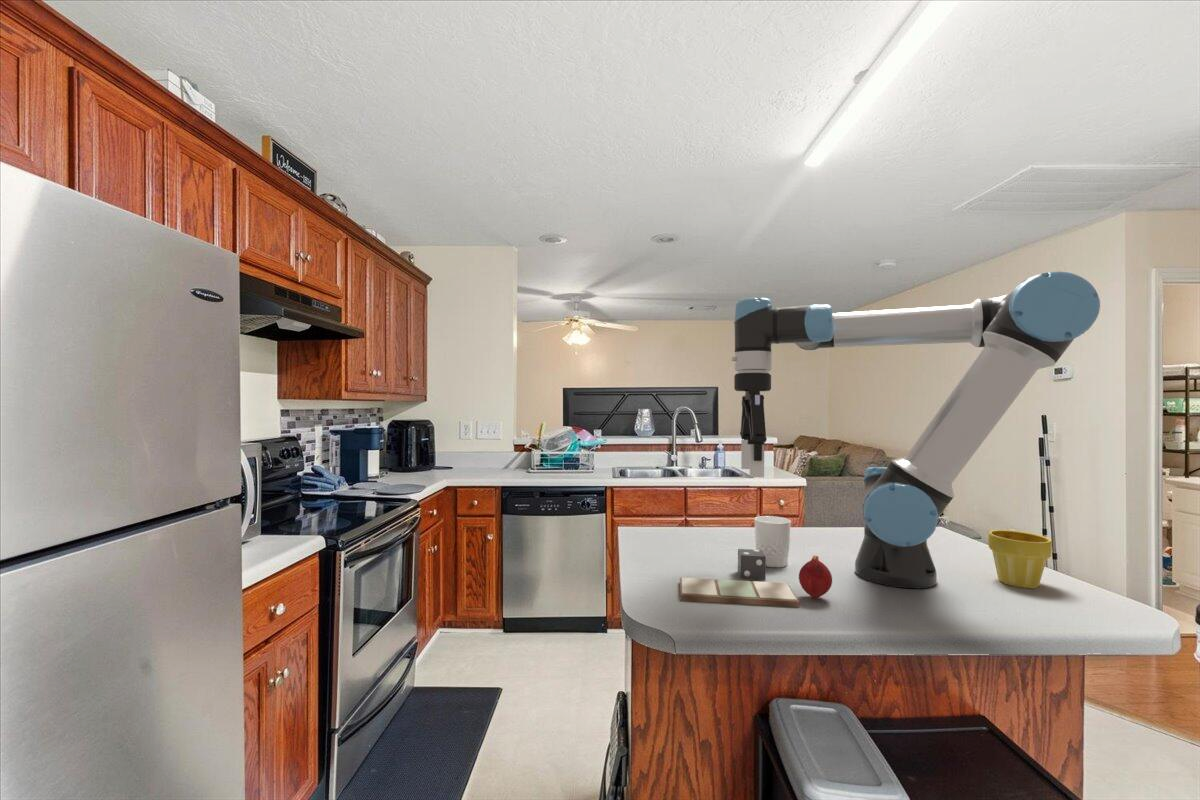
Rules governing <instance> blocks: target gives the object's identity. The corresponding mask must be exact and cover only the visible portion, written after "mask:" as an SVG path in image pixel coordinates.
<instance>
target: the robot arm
mask: <svg viewBox="0 0 1200 800" xmlns="http://www.w3.org/2000/svg"><path fill="white" fill-rule="evenodd" d="M772 304H773V303H772V300H771V299H769V298H766V297H749V298H743V299H740V300H739V301H737V303H736V304H735V314H734V321H733V325H734V356H732V357H731V361H732V362H735V363H734V371H735V372H737V373H735V374H734V376H733V377H734V379H733V381H734V388H733V389H734V391H736V392H745V394H744V395H742V397H741V407H742V408H741V419H740V420H741V421H740V432H739V435H740V438H741V445H740V447H741V448H740V449H741V450H740V452H741V458H740V459H741V463H740V464H741V468H740V469H741V470H749V477H750V478H765V443H766V442H767V433H766V431H767V430H766V421H765V420H766V419H765V418H766V417H765V406H764V405H765V402H764V401H765V400H764V399H765V396H764V394H761V392H769V391H771V390H772V375H771V374H770V373H769V372H770V371H772V345H773V344H795V345H796V346H798V347H799V349H801V350H805V351H815V350H817V349H830V348H849V347H850V348H851V347H855V348H856V347H879V346H883V347H885V346H907V345H908V346H909V345H911V346H912V345H933V344H934V345H936V344H940V345H941V344H960V343H963V344H965V343H968V344H971V345H972V346H973V347H975V348H982V350H981V352H979V354H978V355H977V357H976V359H975V360H974V361H973V363H972V364H971V365H970V367H969V368H968V369H967V371H966V372H965V374H964V375H963V376H962V378H961V379H960V380H959V382H958V383H957V385H956V386H955V387H954V389H953V390H952V392H951V393H950V394H949V396H947V397H948V398H946V400H945V401H944V403H943V404H942V406H940V408H939V410H938V411H937V413H936V414H935V415H934V417H933V418H932V420H931V421H930V422H929V424H928V425H927V426H926V427H925V429H924V430H923V432H922V433H921V434H920V436H919V437H918V438H917V440H916V442H915V443H914V444H913V445H912V447H911V449H910V450H909V451H908V453H907V454H906V456H905V455H904V457H899V458H895V459H894V458H893V459H891V461H890V463H888V465H887V467H886V466H870V467H867V468H866V469H865V471H864V477H863V483H864V496H863V497H864V500H863V504H862V516H863V519H864V520H863V521H864V523H863V526H864V533H863V540H862V541H861V545H860V547H859V551H858V553H857V555H856V558H855V560H854V561H855V563H854V572H855V574H856V575H857V576H859V577H860V578H862V579H864V580H868V581H870V582H873V583H877V584H880V585H884V586H890V587H897V588H905V589H925V588H931V587H934V586H936V585H937V581H938V579H937V578H938V577H937V570H936V567H935V564H934V561H933V557H932V555H931V553H930V550H929V547H928V539H930V538H931V536H932V535H933V534H934V533H935V531H936V528H937V526H938V524H939V523H938V522H939V517H940V516H941V515H942V513H944V511H945V510H946V508H947V507H948V505H949V504H950V503H951V501H952V500H953V498H955V493H954V489H953V483H954V482H955V480H956V478H957V477H958V476H959V475H960V473H961V472H962V470H963V469H964V468H965V466H966V465H967V464H968V463H969V461H970V460H971V459H972V458H973V456H974V455H975V453H976V452H977V451H978V449H979V448H980V447H981V445H982V444H983V443H984V442H985V440H986V439H987V437H988V436H989V435H990V433H991V432H992V431H993V430H994V428H995V427H996V426H997V424H998V423H999V421H1000V420H1001V419H1002V418H1003V416H1004V415H1005V414H1006V413H1007V412H1008V409H1010V407H1011V406H1012V404H1013V403H1014V402H1015V400H1016V399H1017V398H1018V396H1019V395H1020V393H1022V391H1023V390H1024V389H1025V387H1026V386H1027V384H1028V383H1029V382H1030V380H1031V379H1032V378H1033V377H1034V375H1035V374H1036V373H1037V372H1038V370H1040V369H1045V368H1046V369H1047V368H1049V367H1054V366H1055V365H1056V363H1057V362H1058V361H1059V359H1060V358H1061V357H1062V356H1063V355H1064V354H1065V352H1066V350H1068V348H1069V346H1071V344H1072V342H1073V341H1074V340H1075V339H1077V338H1078V337H1080V336H1081V335H1084V334H1085V333H1086V332H1087V331H1089V329H1090V328H1091V327H1092V326H1093V324H1094V323H1095V322H1096V320H1097V319H1098V316H1099V313H1100V311H1101V310H1100V309H1101V300H1100V297H1099V294H1098V292H1097V290H1096V288H1095V287H1094V286H1093V284H1092V283H1090V282H1089V281H1088V280H1087V279H1085V278H1084V277H1082V276H1080V275H1078V274H1075V273H1072V272H1067V271H1062V270H1061V271H1060V270H1059V271H1058V270H1057V271H1048V272H1042V273H1039V274H1037V275H1033V276H1030V277H1029V278H1027V279H1025V280H1023V281H1022V282H1021V283H1020V284H1019V285H1017V286H1016V287H1015V289H1014V290H1012V291H1011V292H1009V293H1006V294H1003V295H998V296H993V297H987V298H985V297H984V298H976V299H974V301H973V302H971V303H970V304H961V305H959V304H958V305H957V304H956V305H946V306H945V305H943V306H941V305H940V306H929V307H928V306H927V307H909V308H896V309H881V310H868V311H867V310H863V311H851V312H836V313H834V309H833V307H832V305H830V304H816V303H814V304H813V303H812V304H807V305H795V306H784V307H781V306H780V307H775V306H773V305H772Z"/></svg>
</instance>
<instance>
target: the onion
mask: <svg viewBox="0 0 1200 800" xmlns="http://www.w3.org/2000/svg"><path fill="white" fill-rule="evenodd" d="M798 580H799V584H800V587H801V588H802V590H803V591H804V592H805V593H806V594H807V595H809V596H810V597H811V598H812V599H814V600H815V599H819V598H820V597H823V596H824V595H826V593H828V592H829V591H830V589H831V588H832V585H833V576H832V572H831V571H830V569H829V568H828V567H827V565H825V564H824V563H823V562H821V561H820V558H819V556H818V555H813V556H812V557H811V559H810V560H809V561H807V562H806V563H805V564H804V565H802V566H801V568H800V570H799V572H798Z"/></svg>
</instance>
